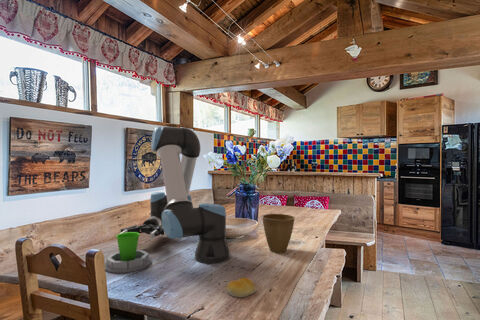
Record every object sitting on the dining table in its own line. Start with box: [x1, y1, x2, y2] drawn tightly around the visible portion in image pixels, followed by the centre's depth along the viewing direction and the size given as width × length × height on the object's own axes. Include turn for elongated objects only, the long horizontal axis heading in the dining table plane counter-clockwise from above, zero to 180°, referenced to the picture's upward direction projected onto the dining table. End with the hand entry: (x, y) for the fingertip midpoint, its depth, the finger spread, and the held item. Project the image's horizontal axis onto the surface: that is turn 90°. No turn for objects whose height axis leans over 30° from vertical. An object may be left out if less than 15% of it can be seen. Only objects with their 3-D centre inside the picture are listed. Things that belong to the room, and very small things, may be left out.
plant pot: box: [262, 213, 296, 254], centre depth 134 cm, size 15×15×16 cm
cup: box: [115, 232, 141, 261], centre depth 117 cm, size 9×9×11 cm
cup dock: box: [105, 249, 152, 274], centre depth 117 cm, size 18×18×4 cm
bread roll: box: [226, 277, 256, 298], centre depth 93 cm, size 8×9×4 cm
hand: (135, 236), depth 125 cm, fingers open, 13 cm apart
